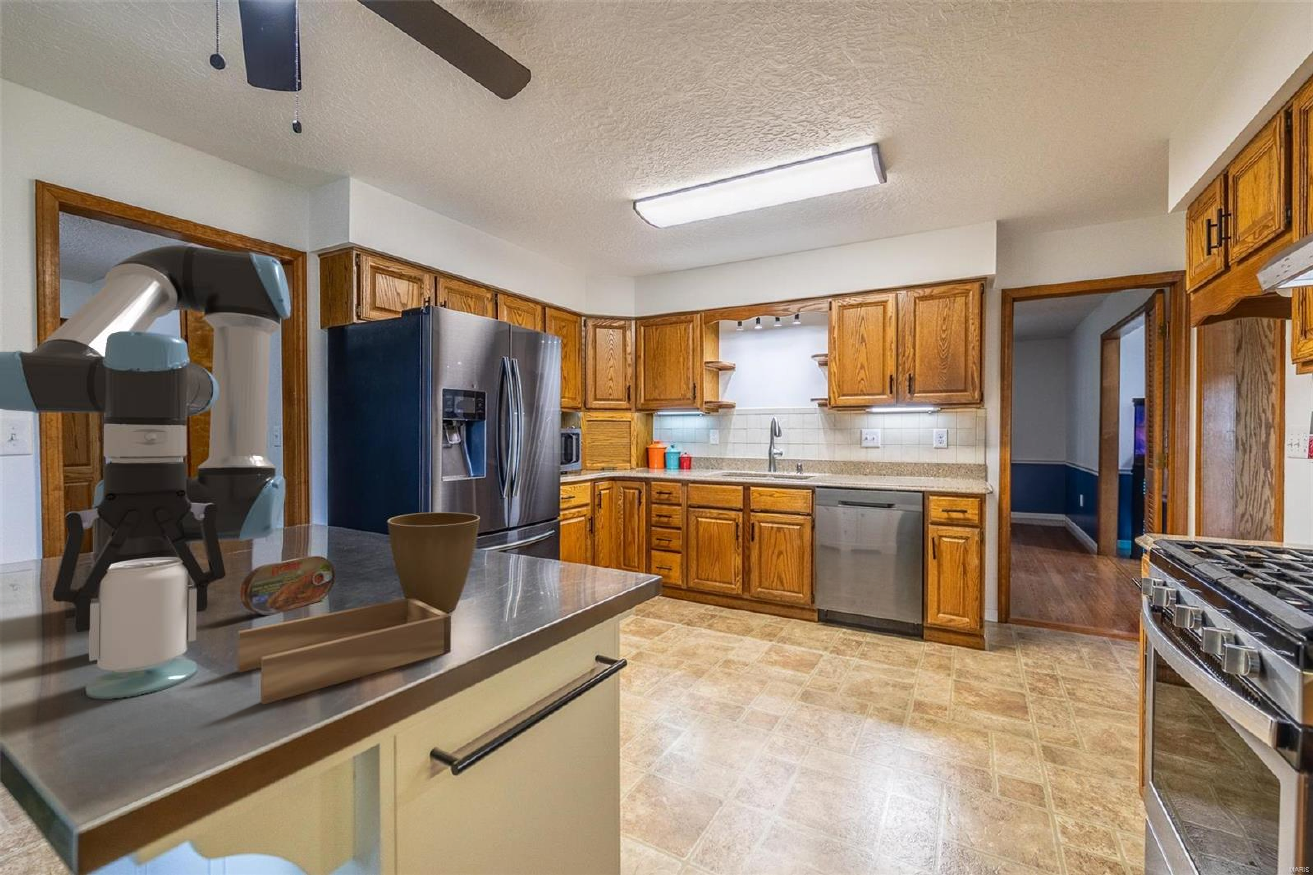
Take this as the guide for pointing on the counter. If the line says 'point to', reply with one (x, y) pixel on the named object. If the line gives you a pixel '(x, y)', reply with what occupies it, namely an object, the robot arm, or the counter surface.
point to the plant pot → (433, 555)
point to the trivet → (141, 680)
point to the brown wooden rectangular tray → (342, 646)
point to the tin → (287, 585)
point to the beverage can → (142, 614)
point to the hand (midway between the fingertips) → (144, 647)
